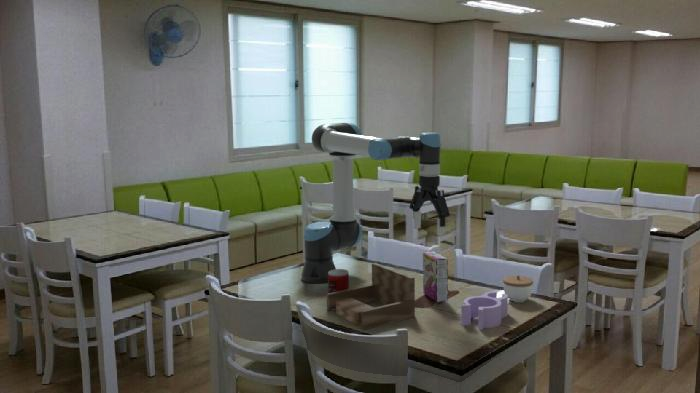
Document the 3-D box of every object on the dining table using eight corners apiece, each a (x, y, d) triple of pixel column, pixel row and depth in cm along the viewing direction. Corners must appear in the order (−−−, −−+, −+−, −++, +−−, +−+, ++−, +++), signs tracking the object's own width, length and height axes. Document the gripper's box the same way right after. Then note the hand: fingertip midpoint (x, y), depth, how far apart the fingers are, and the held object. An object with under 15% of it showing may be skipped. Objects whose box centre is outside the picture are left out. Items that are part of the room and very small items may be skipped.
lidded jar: (499, 302, 235) (500, 277, 233) (506, 293, 244) (506, 270, 243) (529, 306, 230) (530, 281, 229) (535, 297, 240) (535, 273, 238)
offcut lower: (335, 314, 227) (335, 308, 227) (352, 311, 231) (352, 304, 230) (356, 326, 215) (356, 319, 215) (373, 322, 219) (373, 315, 218)
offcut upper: (335, 308, 226) (335, 301, 226) (352, 304, 230) (351, 297, 229) (358, 319, 215) (358, 312, 214) (375, 315, 218) (375, 308, 218)
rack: (327, 309, 231) (326, 272, 228) (375, 298, 242) (375, 262, 240) (363, 329, 211) (363, 288, 208) (414, 316, 222) (414, 277, 220)
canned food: (351, 297, 244) (350, 269, 242) (345, 303, 237) (345, 275, 235) (332, 296, 246) (331, 268, 244) (326, 302, 239) (325, 274, 237)
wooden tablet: (425, 308, 227) (402, 300, 233) (425, 314, 228) (401, 306, 234) (461, 290, 248) (439, 283, 254) (461, 296, 248) (438, 288, 254)
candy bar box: (422, 294, 244) (422, 252, 241) (434, 292, 245) (434, 250, 243) (436, 302, 233) (436, 259, 231) (448, 301, 235) (448, 257, 232)
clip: (484, 308, 230) (484, 289, 228) (516, 315, 221) (516, 296, 220) (454, 323, 215) (454, 303, 214) (487, 332, 207) (487, 311, 205)
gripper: (400, 172, 242) (400, 226, 246) (444, 180, 221) (443, 239, 225) (416, 170, 246) (415, 224, 250) (460, 178, 225) (459, 236, 229)
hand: (428, 231), depth 237 cm, fingers open, 13 cm apart
